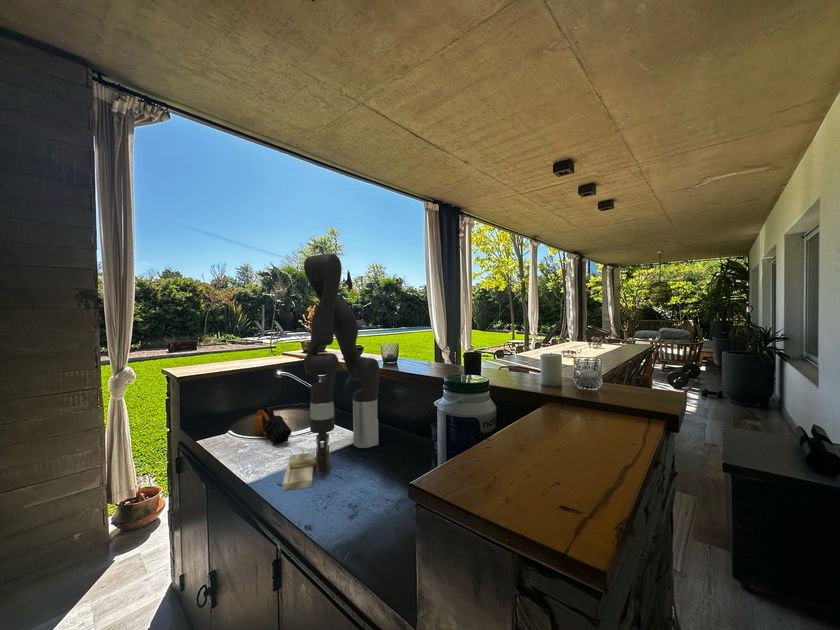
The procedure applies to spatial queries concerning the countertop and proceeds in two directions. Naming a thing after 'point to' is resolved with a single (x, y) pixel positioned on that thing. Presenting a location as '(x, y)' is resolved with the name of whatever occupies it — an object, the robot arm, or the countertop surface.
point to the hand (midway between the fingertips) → (323, 465)
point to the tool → (271, 426)
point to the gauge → (313, 463)
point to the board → (299, 473)
